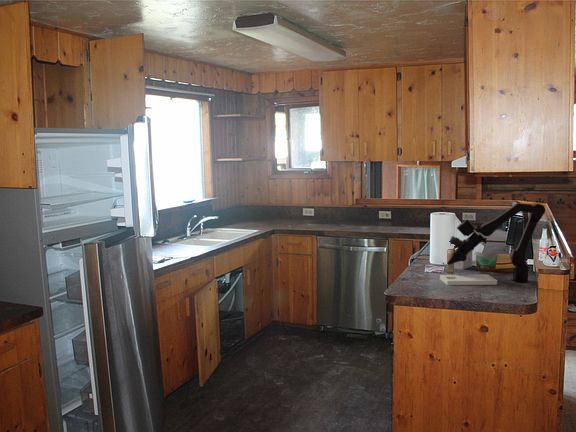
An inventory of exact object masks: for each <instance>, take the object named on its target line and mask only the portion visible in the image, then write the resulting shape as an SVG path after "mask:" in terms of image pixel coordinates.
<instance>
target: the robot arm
mask: <svg viewBox="0 0 576 432" xmlns="http://www.w3.org/2000/svg"><path fill="white" fill-rule="evenodd" d="M520 212H522V213H527V214H528V221H527V222H526V225H525V227H524V230H523V233H522V235H521V238H520V240H519V242H518V245H517V246H516V248H512V249H511V253H510V254H509V260H510V262H511V265H513V266H514V267H513V272H512V278H511V279H510V281H514V282H516V283H520V284H521V283H522V284H525V283H530V282H531V280H530V279H529V268H530V267H529V265H528V264H527V262H526V254H527V248H528V247H529V244H530V241H531V239H532V236H533V234H534V232H535V230H536V226H537V225H538V223H539V222H540V220H541V219H543V216H544V214H545V213H546V207H545V206H544V205H543V204H542V203H539V202H535V203H532V204H531V203H521V202H516V203H515V204H513V206H511V207H509V208H508V209H507V210H505V211H504V212H503V213H501V214H500V215H498V216H497V217H495V218H494V219H492V220H491V219H490V220H488V221H487V222H484V223H482V224H481V225H473V224H472V223H471V222H470V220H469V219H465V220H464V221H462V222H461V223H459V225H458V226H457V227H456V229H457V230H458V231H459V232H460V233H461V234H462V236H464V237H467V238H466V239H463V240H462V239H460V238H459V237H456V236H453V235H452V236H450V241H449V242H450V245H451V244H454V245H455V246H454V248H456V249H454V248H453V250H455V252H454V254H453V256H452V258H451V259H450V260H449V261H448V262H447V264H448V265H450V264H453V263H456V262H459V261H463V262H464V261H465V260H466V259H467V255H468V253H469V252H470V251H471V250H472V252H474V251H475V250H474V249H475V248H476V247H477V246H479V244H481V243H482V242H483V243H484V244H485V245H486V244H487V240H488V238H487V237H490V236H492V235H493V233H495V231H497V230H498V228H499V227H501V226H502V224H504V223H506V222H507V221H509V220H510V219H511V218H513V217H514V216H516V215H518V214H519V213H520Z"/></svg>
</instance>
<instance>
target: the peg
mask: <svg viewBox="0 0 576 432" xmlns="http://www.w3.org/2000/svg"><path fill="white" fill-rule="evenodd" d="M454 252H455V250H452V249H448V250H447V262H448V261H449V260H450V259H451V258H452V256H453V254H454ZM454 273H455V268H454V263H453V264H450V265H448V264H447V265H446V275H454Z"/></svg>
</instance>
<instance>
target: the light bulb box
mask: <svg viewBox="0 0 576 432" xmlns="http://www.w3.org/2000/svg"><path fill="white" fill-rule="evenodd" d="M455 249H456V248H455ZM471 267H473V251H472V250H471V251H470V252H469V253H468V255H467V259H466V260H465V261H464V262H463V261H459V262H456V263H454V269H458V270H466V269H468V268H471Z"/></svg>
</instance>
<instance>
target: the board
mask: <svg viewBox="0 0 576 432" xmlns="http://www.w3.org/2000/svg"><path fill="white" fill-rule="evenodd" d="M439 280H440V281H442V283H444V284H445V285H447V286H480V285H481V286H483V285H487V286H489V285H492V286H493V285H498V280H497V279H495V278H494V277H492V276H491V275H489V274H453V275H447V274H440V275H439Z"/></svg>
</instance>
